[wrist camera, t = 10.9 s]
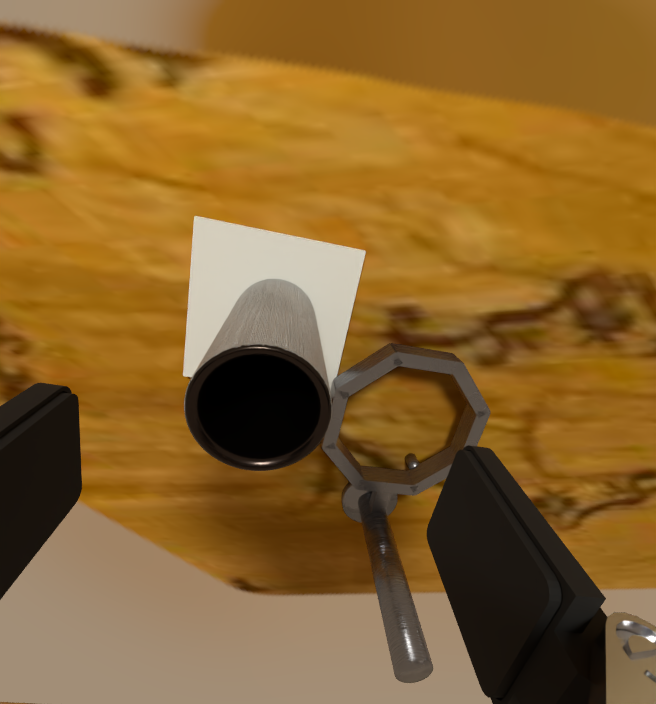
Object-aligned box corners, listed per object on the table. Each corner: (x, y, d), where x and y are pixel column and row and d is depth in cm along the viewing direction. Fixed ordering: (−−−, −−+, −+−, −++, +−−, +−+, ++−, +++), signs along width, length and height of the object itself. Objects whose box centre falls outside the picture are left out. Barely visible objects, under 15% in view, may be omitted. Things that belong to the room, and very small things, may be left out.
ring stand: (486, 353, 24) (633, 466, 13) (421, 521, 28) (493, 697, 18) (340, 328, 22) (381, 434, 12) (299, 510, 27) (303, 695, 17)
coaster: (363, 250, 20) (365, 251, 20) (331, 392, 24) (331, 396, 23) (197, 216, 19) (194, 216, 18) (185, 371, 22) (183, 375, 22)
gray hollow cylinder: (267, 368, 22) (246, 495, 12) (217, 308, 20) (149, 399, 11) (330, 327, 21) (359, 426, 12) (284, 261, 20) (275, 314, 10)
